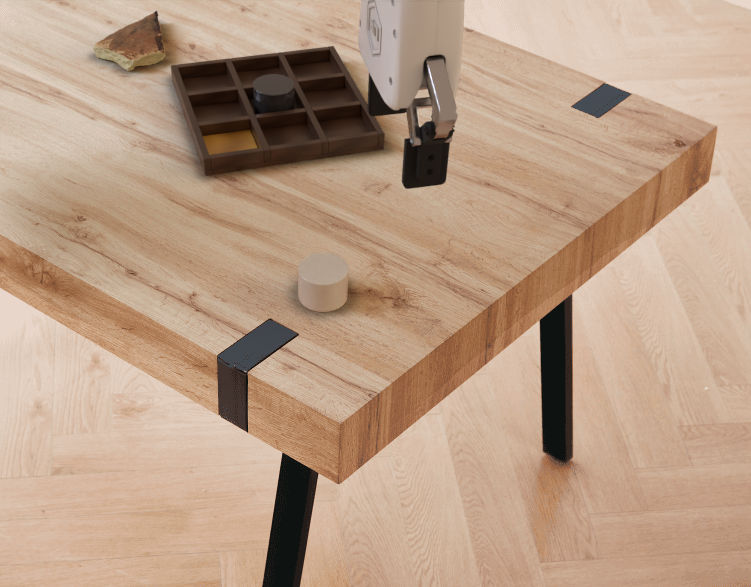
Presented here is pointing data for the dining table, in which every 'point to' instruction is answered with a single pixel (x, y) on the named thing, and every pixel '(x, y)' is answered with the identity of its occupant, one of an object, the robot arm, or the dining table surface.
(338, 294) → the ivory stone
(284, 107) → the black stone
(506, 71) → the dining table surface
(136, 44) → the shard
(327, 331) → the dining table surface
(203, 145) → the board
